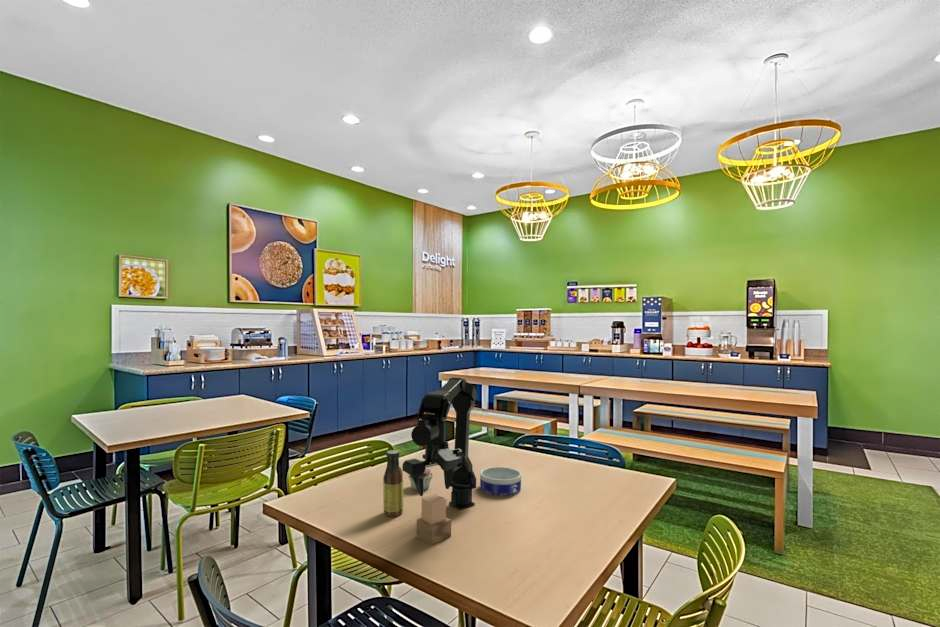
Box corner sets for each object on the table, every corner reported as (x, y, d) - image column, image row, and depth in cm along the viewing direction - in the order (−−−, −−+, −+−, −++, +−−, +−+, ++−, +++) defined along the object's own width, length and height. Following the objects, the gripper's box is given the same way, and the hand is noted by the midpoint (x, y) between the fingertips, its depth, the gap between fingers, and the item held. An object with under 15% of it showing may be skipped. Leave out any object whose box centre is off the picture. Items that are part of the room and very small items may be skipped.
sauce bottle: (394, 508, 152) (395, 447, 152) (407, 513, 148) (408, 450, 148) (378, 514, 147) (379, 451, 147) (391, 519, 143) (392, 455, 143)
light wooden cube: (435, 514, 135) (435, 494, 135) (445, 520, 132) (446, 499, 132) (421, 519, 132) (421, 498, 132) (431, 525, 128) (432, 503, 128)
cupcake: (434, 484, 175) (435, 457, 175) (430, 493, 166) (430, 465, 166) (410, 483, 176) (411, 456, 176) (405, 491, 167) (405, 464, 167)
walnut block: (435, 529, 137) (435, 512, 137) (451, 537, 132) (451, 519, 132) (416, 536, 132) (416, 519, 132) (432, 545, 127) (432, 526, 127)
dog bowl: (506, 500, 161) (506, 482, 161) (471, 490, 170) (471, 473, 170) (528, 488, 173) (528, 471, 173) (494, 479, 182) (495, 464, 182)
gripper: (424, 448, 120) (423, 509, 120) (478, 438, 132) (477, 493, 132) (401, 440, 129) (400, 496, 129) (454, 431, 141) (453, 482, 141)
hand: (434, 492), depth 132 cm, fingers open, 9 cm apart
